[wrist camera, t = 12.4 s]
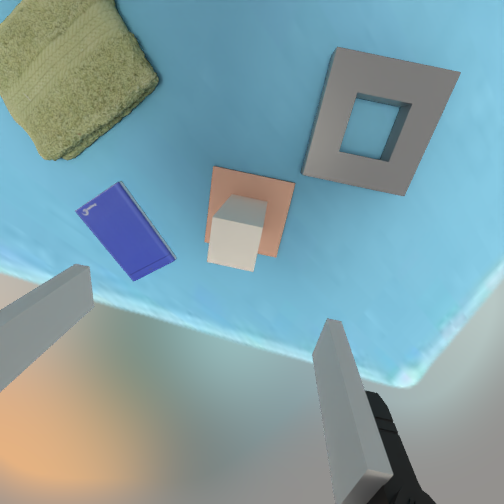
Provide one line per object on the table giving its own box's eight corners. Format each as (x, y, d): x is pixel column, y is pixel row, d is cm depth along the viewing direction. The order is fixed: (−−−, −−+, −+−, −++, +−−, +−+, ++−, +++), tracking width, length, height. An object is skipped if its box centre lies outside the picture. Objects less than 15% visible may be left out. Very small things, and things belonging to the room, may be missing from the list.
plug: (232, 193, 30) (212, 216, 21) (267, 201, 30) (262, 227, 21) (226, 227, 32) (206, 261, 23) (260, 234, 32) (253, 271, 23)
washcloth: (-17, 61, 28) (-51, 51, 25) (92, -52, 23) (66, -79, 20) (65, 168, 32) (44, 171, 29) (171, 92, 27) (159, 86, 25)
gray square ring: (331, 55, 24) (337, 46, 22) (444, 78, 24) (461, 72, 22) (300, 172, 29) (302, 174, 27) (394, 191, 29) (404, 196, 27)
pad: (214, 165, 30) (213, 166, 29) (294, 183, 30) (295, 183, 29) (205, 240, 34) (204, 242, 34) (276, 255, 34) (276, 257, 33)
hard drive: (73, 211, 33) (132, 282, 37) (116, 182, 31) (174, 261, 35) (81, 208, 35) (137, 277, 39) (123, 180, 32) (178, 256, 36)
